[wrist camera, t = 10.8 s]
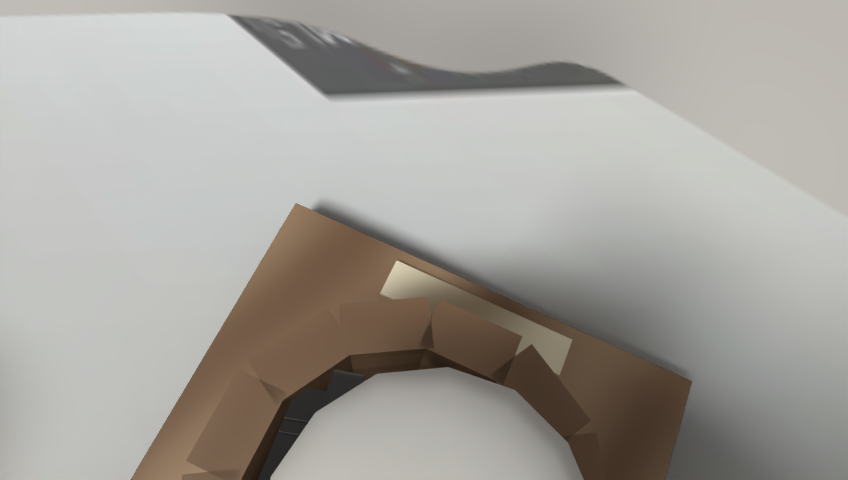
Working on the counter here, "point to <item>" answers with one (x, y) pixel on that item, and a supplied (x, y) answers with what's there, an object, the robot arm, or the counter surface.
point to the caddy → (402, 358)
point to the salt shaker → (428, 433)
